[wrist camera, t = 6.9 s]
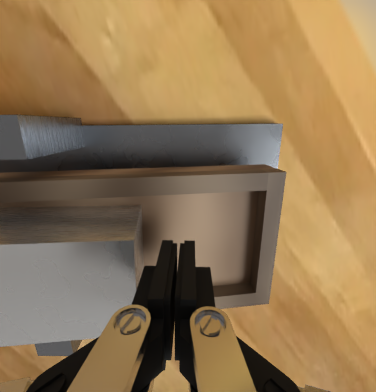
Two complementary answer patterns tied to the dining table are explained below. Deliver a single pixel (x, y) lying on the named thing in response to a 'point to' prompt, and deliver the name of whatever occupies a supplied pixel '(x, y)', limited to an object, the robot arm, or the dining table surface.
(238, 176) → the long rimmed wooden tray
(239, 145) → the pivot stand
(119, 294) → the steel block
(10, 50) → the dining table surface
